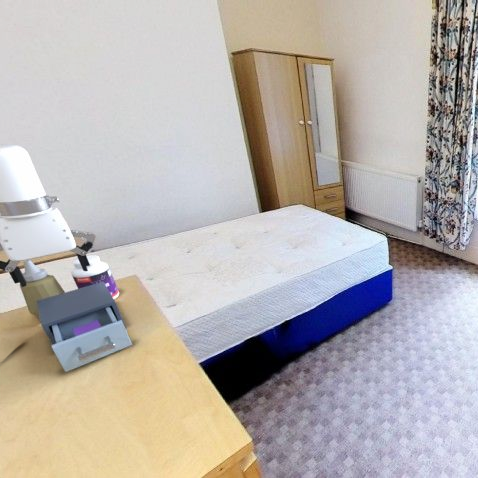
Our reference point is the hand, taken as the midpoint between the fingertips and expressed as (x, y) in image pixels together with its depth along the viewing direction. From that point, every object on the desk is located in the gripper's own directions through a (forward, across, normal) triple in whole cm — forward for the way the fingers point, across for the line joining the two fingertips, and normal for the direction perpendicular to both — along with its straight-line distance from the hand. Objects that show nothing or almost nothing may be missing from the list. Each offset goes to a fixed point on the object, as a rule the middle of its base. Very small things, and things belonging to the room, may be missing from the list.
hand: (56, 276), depth 74 cm
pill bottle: (+22, -6, -25) cm, 34 cm away
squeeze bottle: (+22, +4, -25) cm, 33 cm away
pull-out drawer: (+20, -1, +4) cm, 21 cm away
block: (+19, -1, +2) cm, 19 cm away
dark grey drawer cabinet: (+21, -1, -10) cm, 23 cm away
